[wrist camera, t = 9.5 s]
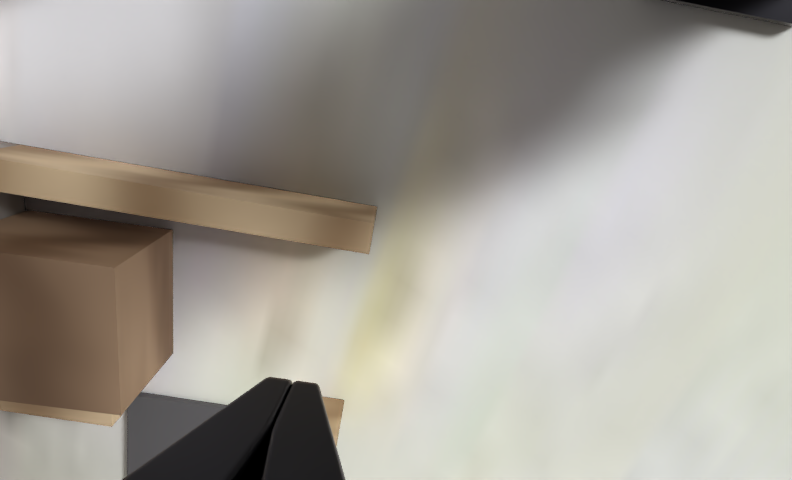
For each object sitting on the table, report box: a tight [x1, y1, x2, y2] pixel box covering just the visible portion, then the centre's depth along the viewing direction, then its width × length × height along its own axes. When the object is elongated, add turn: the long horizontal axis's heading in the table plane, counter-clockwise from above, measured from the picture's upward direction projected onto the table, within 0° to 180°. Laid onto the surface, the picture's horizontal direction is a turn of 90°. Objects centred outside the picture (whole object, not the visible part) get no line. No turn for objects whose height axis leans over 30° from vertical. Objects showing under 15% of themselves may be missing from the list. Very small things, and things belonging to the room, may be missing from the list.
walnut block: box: [0, 210, 173, 415], centre depth 19 cm, size 6×6×4 cm
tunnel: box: [0, 141, 377, 445], centre depth 20 cm, size 16×11×3 cm
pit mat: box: [127, 392, 227, 476], centre depth 24 cm, size 8×6×1 cm
